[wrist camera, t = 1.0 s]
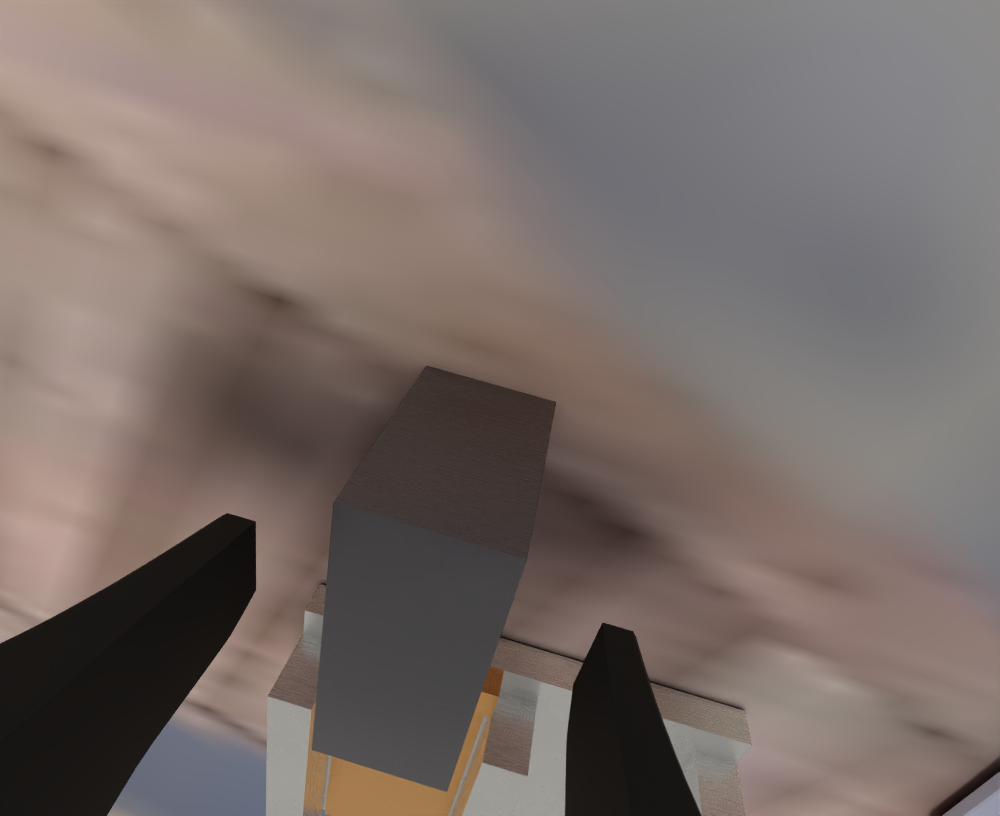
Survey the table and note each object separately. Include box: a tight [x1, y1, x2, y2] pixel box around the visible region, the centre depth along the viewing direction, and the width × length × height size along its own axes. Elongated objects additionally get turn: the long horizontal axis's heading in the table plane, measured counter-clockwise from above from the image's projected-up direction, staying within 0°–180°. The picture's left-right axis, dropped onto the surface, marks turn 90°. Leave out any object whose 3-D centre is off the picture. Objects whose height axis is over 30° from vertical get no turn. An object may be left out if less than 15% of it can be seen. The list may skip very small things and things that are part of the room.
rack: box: [266, 584, 752, 816], centre depth 18 cm, size 13×11×3 cm
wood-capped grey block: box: [312, 366, 556, 792], centre depth 12 cm, size 3×7×5 cm, turn 168°
